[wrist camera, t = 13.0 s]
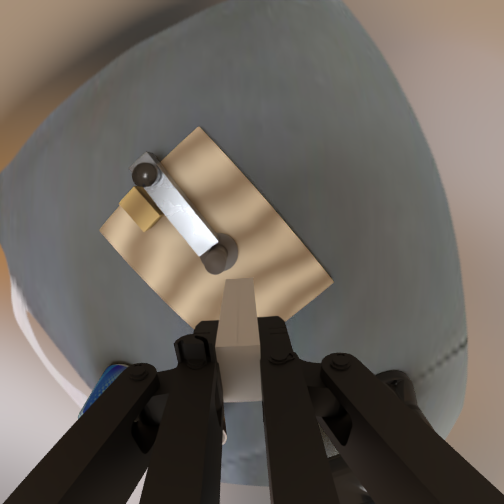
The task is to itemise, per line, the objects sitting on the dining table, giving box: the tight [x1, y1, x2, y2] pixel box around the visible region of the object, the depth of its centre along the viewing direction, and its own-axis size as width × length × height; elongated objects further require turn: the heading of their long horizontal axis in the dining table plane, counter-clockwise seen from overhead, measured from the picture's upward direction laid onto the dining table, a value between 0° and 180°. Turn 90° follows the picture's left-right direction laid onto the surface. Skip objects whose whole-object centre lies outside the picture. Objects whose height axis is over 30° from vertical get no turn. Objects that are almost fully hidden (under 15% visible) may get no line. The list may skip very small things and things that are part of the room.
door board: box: [100, 127, 334, 329], centre depth 34 cm, size 28×20×7 cm
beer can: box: [78, 364, 129, 419], centre depth 35 cm, size 8×8×16 cm
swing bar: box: [129, 151, 220, 257], centre depth 31 cm, size 14×3×4 cm, turn 38°
